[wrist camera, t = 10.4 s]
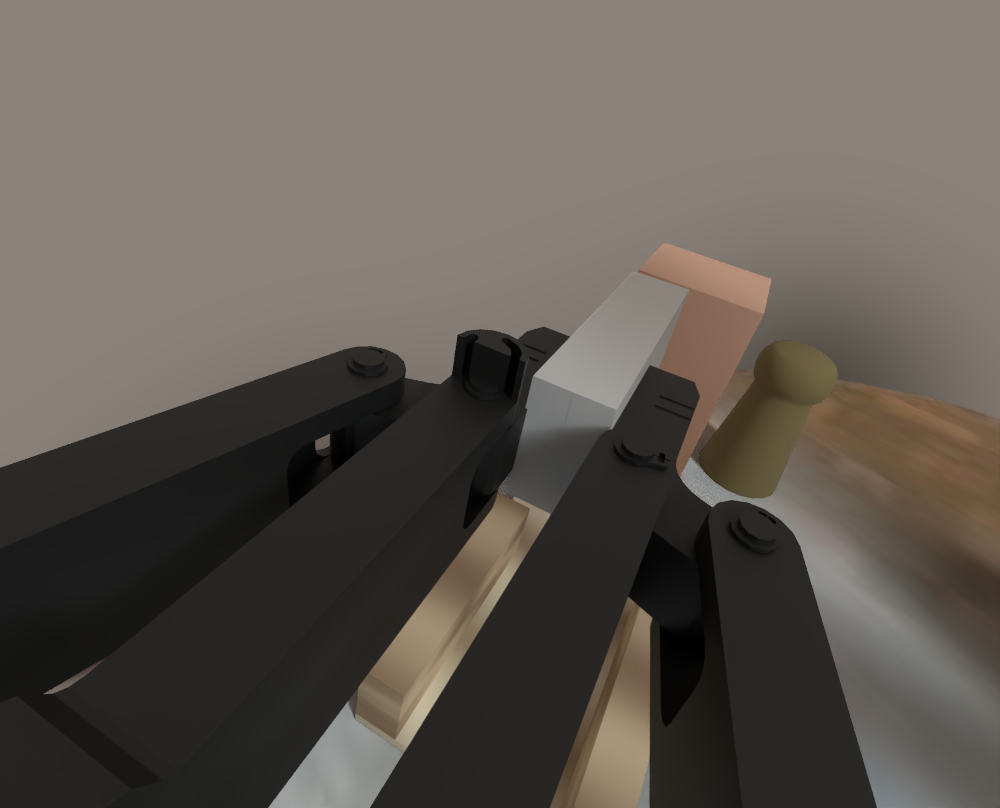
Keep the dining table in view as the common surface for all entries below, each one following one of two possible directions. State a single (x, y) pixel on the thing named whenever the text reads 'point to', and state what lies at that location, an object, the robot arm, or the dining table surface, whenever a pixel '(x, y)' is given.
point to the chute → (452, 628)
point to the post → (707, 326)
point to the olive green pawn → (768, 419)
